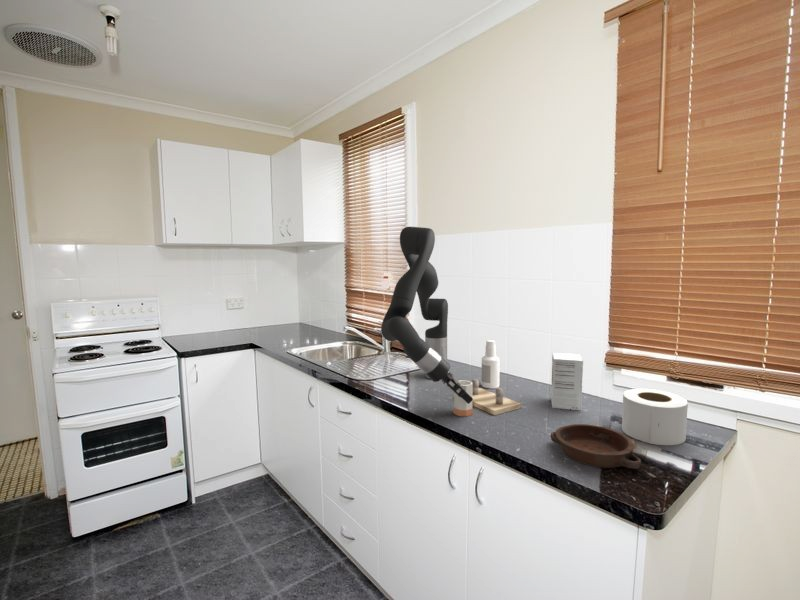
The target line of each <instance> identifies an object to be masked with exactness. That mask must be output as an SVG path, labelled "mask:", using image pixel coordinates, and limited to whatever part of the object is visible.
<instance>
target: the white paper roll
mask: <svg viewBox="0 0 800 600" xmlns="http://www.w3.org/2000/svg"><path fill="white" fill-rule="evenodd" d="M688 405H689V402H688V400H687V399H686V398H684V397H682V396H680V395H678V394H676V393H673V392H668V391H664V390H660V389H653V388H652V389H651V388H632V389H627V390H624V392H623V393H622V414H621V415H622V419H621V430H622V431H623V433H624V434H626V436H629V437H630V438H633V439H636V440H638V441H641V442H644V443H648V444H652V445H660V446H677V445H682V444H684V443H685V442H686V437H687V421H688V420H687V419H688V408H689V407H688Z"/></svg>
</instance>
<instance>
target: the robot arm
mask: <svg viewBox="0 0 800 600" xmlns="http://www.w3.org/2000/svg"><path fill="white" fill-rule="evenodd" d="M435 243H436V236H435V231H434V230H433V229H432V228H430V227H421V226H405V227H404V228H402V229H401V231H400V235H399V246H400V249H401V251H402V254H403V256H404V258H405V260H406V263H407V265H408V268H409V269H408V270H407V271H406V272H405V273H404V274H403V275H402V276H401V277H400V278H399V279H398V281H397V282H396V284H395V287H394V290H393V293H392V298H391V299H390V300H391V301H390V304H389V307H388V309H387V311H386V312H385V315H384V318H383V319H382V322H381V326H380V332H381V335H382V337H383V338H384V339H385V340H386V341H388V342H395V341H397V342H399V343H400V345H401V346H402V347H403V349H402V351H403V352H404V354H405V355H406V357H408V358H409V359H410V360H411V361H412V362H413V363H414V364H415V365H416V366H417V367H418V369H420V370H421V372H422V373H423V374H424V376H425V378H427V379H430V380H431V381H432V382H433V383H436V382H440V381H441V382H442V383H443V385H444V386H445V387H446V388H449V390H450V391H451V392H452V393H454V392H455V393H456V394H457V395H458V396H459V397H461V398H462V399H464V400H465V401H466V402H467V403H468V404H469V403H470V402H471V401H472V400H473V398H472V397H471V396H470V395H469V394H468V393H467V392H466V391H465V390H464V389H463V388H462V387H461V384H460V383H459V382H458V381H459V380H457V377H455V376H454V374H453V373H451V371H450V369H451V364H450V363H449V362H448V315H449V304H448V301H447V299H446V298H430V297H432V296H433V294H434V293H436V290H438V287H439V279H438V273H437V270H436V268H435V266H434V265H433V264H432V263H431V262H430V261H429V260H430V259H431V256H432V254H433V251H434V247H435ZM416 294H417V296H418V301H419V302H418V303H419V307H420V312H421V317H422V318H423V319H424V320H425V321H430V322H431V321H434V322H435V321H438V324H436V325H435V326H433V327H429V328H426V330H425V332H424V335H425V337H424V339H422V338H421V337H420V335H419V333H418V332H417V331H416V329H415V327H414V326H413V324H412V323H411V322H410V321H409V320H408V319H406V317H407V316H408V314H410V312H411V311H412V309H413V306H414V303H415V298H416ZM455 381H456V382H457V383H456V382H455ZM459 388H460V389H461V391H460V392H459V393H458V392H457V390H458V389H459Z"/></svg>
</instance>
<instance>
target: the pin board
mask: <svg viewBox="0 0 800 600" xmlns="http://www.w3.org/2000/svg"><path fill="white" fill-rule="evenodd" d="M471 382H472V398H473V400H472V406H473V407H475V408H478V409H480V410H482V411H484V412H486V413H488V414H491V415H493V416H497V415H501V414H503V413H508V412H512V411H515V410H519V409H521V408H522V403H521V402H518V401H515V400H513V399H510V398H508V397H506V396H504V388H503V387H498V388H495V393H494V392H492V391H489V390H487V389H484V388H483V387H479V385H480V384H479V383H480V382H479V379H478V378H477V379H476V378H472V379H471Z"/></svg>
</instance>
